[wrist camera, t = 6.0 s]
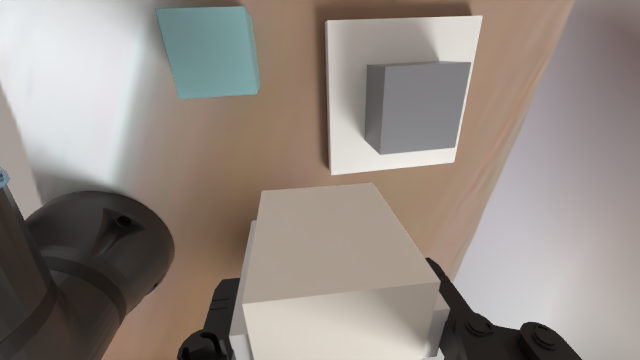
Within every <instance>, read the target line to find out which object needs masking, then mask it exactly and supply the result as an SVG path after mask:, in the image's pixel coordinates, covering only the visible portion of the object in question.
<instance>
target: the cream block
mask: <svg viewBox="0 0 640 360" xmlns="http://www.w3.org/2000/svg"><path fill="white" fill-rule="evenodd" d="M440 283H441V281H440V280H439V278H438V277H437V275H436V274H435V272H434V271H433V270H432V268H431V267H430V265H429V264H428V262H427V261H426V259H425V258H424V256H423V255H422V254H421V252H420V251H419V249H418V248H417V246H416V245H415V243H414V242H413V240H412V239H411V238H410V236H409V235H408V233H407V232H406V230H405V229H404V227H403V226H402V224H401V223H400V221H399V220H398V219H397V217H396V216H395V214H394V213H393V211H392V210H391V208H390V207H389V205H388V204H387V203H386V201H385V200H384V198H383V197H382V195H381V194H380V192H379V191H378V189H377V188H376V187H375V185H374V184H373V183H364V184H350V185H336V186H322V187H309V188H295V189H281V190H267V191H262V193H261V199H260V204H259V210H258V216H257V222H256V227H255V233H254V239H253V244H252V250H251V256H250V261H249V267H248V273H247V278H246V284H245V290H244V296H243V301H242V306H243V311H244V316H245V320H246V325H247V330H248V334H249V339H250V344H251V348H252V353H253V358H254V360H422V357H423V353H424V349H425V345H426V341H427V337H428V332H429V328H430V324H431V320H432V316H433V312H434V307H435V303H436V299H437V295H438V291H439V287H440Z"/></svg>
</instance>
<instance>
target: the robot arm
mask: <svg viewBox="0 0 640 360" xmlns="http://www.w3.org/2000/svg"><path fill="white" fill-rule="evenodd" d="M8 181H9V176H8V174H7V172H6V171H4V170H3V169H2V168H0V360H101V359H102V357H103V355H104V353H105V352H106V350H107V348H108V346H109V344H110V343H111V341H112V339H113V337H114V335H115V334H116V332H117V330H118V328H119V327H120V325H121V323H122V321H123V320H124V318H125V316H126V315H127V314H128V313H129V312H130V311H132V310H133V309H134V308H135V307H136V306H137V305H138V304H139V303H140V302H141V300H142V299H143V298H144V296H146V295H147V294H149V293H150V292H152V291H153V290H154V289H155V288H156V287H157V286H158V285H159V284H160V283H161V281H162V280H163V279H164V277H165V275H166V274H167V272H168V270H169V268H170V266H171V263H172V261H173V258H174V242H173V239H172V236H171V234H170V232H169V230H168V228H167V227H166V225H165V224H164V223H163V222H162V220H161V219H160V218H159V217H158V216H157V215H155V214H154V213H153V212H152V211H150V210H149V209H148V208H146V207H144V206H143V205H141V204H139V203H137V202H135V201H133V200H131V199H128V198H125V197H122V196H119V195H115V194H111V193H105V192H94V191H86V192H76V193H71V194H67V195H63V196H61V197H58V198H56V199H54V200H52V201H50V202H49V203H47V204H46V205H44V206H43V207H41V208H40V209H38V210H37V211H36V212H34V213H33V214H31V215H30V216H29V217H28V218H27V219H26V220H25V221H24V219H23V216H22V215H21V212H20V211H19V208H18V206H17V204H16V202H15V200H14V198H13V196H12V194H11V192H10V190H9V188H8V186H7V182H8ZM256 222H257V220H254V221H252V222H251V227H250V232H249V237H248V242H247V247H246V253H245V258H244V263H243V268H242V273H241V278H234V279H224V280H222V281H221V282H220V284H219V285H218V286H217V287H216V289H215V291H214V294H213V298H212V302H211V304H210V308H209V311H208V314H207V318H206V321H205V325H204V328H203V329H202V330H199V331H197V332H195V333H193V334H191V335H190V336H189V337H188V338H187V339H186V340H185V341H184V342H183V344H182V345H181V347H180V348H179V351H178V355H177V359H178V360H254V358H253V353H252V348H251V344H250V339H249V334H248V330H247V325H246V320H245V316H244V311H243V306H242V301H243V296H244V290H245V284H246V278H247V273H248V267H249V261H250V256H251V250H252V244H253V239H254V233H255V227H256ZM425 259H426V261H427V262H428V264H429V265H430V267H431V268H432V270H433V271H434V272H435V274H436V275H437V277H438V278H439V280H440V281H441V283H440V287H439V291H438V295H437V299H436V303H435V307H434V312H433V316H432V320H431V324H430V328H429V332H428V337H427V341H426V345H425V349H424V353H423V357H422V358H429V357H435V356H437V353H438V349H439V348H440V349H441V351H442V353H443V355H444V357H445V358H444V360H582V359H581V358H580V357H579V356H578V354H577V353H576V352H575V351H574V350H573V349H572V348H571V347H570V346H569V345H568V344H567V342H565V340H564V339H563V338H562V337H561V336H560V335H558V334H557V333H556V332H555V331H554V330H552V329H550V328H549V327H547V326H545V325H542V324H539V323H536V322H527V323H524V324H523V325H522V327H521V328H520V330H516V329H510V328H505V327H499V326H495V325H493V324H492V323H491V322H490V321H489V320H487V319H486V318H485V317H483V316H481V315H480V314H478V313H474V312H473V311H472V310H471V308H470V307H469V306H468V304H467V303H466V301H465V300H464V299H463V297H462V296H461V295H460V293H459V292H458V291H457V289H456V288H455V286H454V285H453V284H452V283H451V282H450V280H449V278H448V277H447V276H446V275H445V273H444V271H443V270H442V269H441V267H440V266H439V265H438V264H437V263H436V262H434V261H433V260H431V259H430V258H425Z"/></svg>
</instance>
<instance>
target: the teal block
mask: <svg viewBox="0 0 640 360" xmlns="http://www.w3.org/2000/svg"><path fill="white" fill-rule="evenodd" d="M155 11H156V15H157V19H158V22H159V26H160V30H161V33H162V37H163V41H164V45H165V48H166V52H167V56H168V59H169V63H170V67H171V71H172V74H173V78H174V82H175V85H176V89H177V93H178V97H179V99H189V98H204V97H219V96H235V95H250V94H257V93H258V90H259V88H260V85H261V84H260V76H259V69H258V62H257V54H256V47H255V39H254V32H253V24H252V18H251V16H250V15H249V13H248V11H247V10H246V8H245V7H244V6H238V7H199V8H159V9H155Z"/></svg>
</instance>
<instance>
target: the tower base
mask: <svg viewBox="0 0 640 360" xmlns="http://www.w3.org/2000/svg"><path fill="white" fill-rule="evenodd" d="M482 17H483V16H455V17H422V18H389V19H357V20H327V21H326V22H325V52H326V86H327V121H328V156H329V171H330V174H331V175H338V174H347V173H357V172H366V171H376V170H385V169H395V168H404V167H414V166H423V165H433V164H443V163H452V162H454V160H455V155H456V150H457V145H458V139H459V134H460V129H461V124H462V119H463V114H464V109H465V104H466V99H467V93H468V88H469V83H470V78H471V73H472V68H473V63H474V58H475V53H476V48H477V42H478V37H479V32H480V27H481V22H482Z"/></svg>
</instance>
